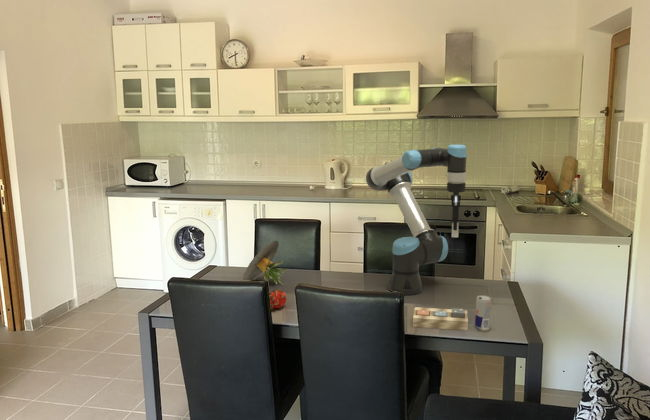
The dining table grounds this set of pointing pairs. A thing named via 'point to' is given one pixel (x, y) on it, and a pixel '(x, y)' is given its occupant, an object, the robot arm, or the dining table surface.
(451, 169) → the robot arm
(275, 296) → the dragon fruit
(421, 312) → the one dot button
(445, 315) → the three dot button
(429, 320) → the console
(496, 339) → the dining table surface
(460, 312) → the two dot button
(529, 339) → the dining table surface
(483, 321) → the energy drink
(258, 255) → the grey yellow green piece
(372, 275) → the dining table surface
